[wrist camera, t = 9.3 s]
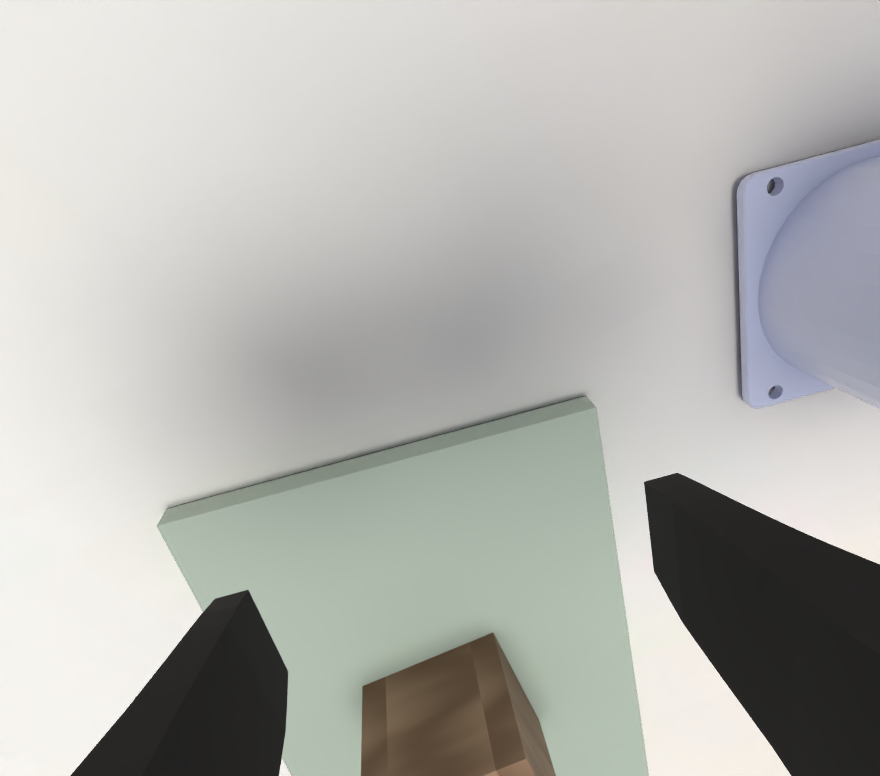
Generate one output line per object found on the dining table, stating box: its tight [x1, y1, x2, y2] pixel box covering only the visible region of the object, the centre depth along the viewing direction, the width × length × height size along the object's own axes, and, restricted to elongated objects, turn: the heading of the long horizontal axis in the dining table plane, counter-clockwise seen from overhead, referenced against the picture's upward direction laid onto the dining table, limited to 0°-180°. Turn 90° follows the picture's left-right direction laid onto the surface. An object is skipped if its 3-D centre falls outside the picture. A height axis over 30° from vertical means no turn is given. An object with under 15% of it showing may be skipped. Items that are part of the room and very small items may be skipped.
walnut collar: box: [361, 633, 556, 776], centre depth 21 cm, size 6×6×5 cm
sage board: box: [157, 396, 649, 776], centre depth 23 cm, size 15×20×1 cm
